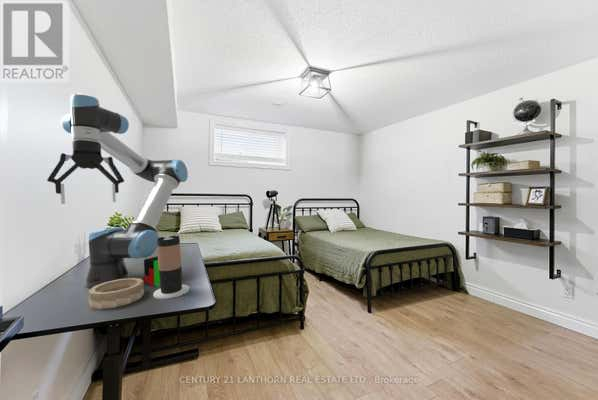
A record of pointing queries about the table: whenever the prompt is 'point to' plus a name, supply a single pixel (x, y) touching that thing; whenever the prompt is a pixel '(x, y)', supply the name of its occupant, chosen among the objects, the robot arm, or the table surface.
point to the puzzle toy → (151, 271)
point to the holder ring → (116, 293)
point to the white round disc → (159, 295)
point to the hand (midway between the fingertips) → (89, 203)
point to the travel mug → (169, 264)
